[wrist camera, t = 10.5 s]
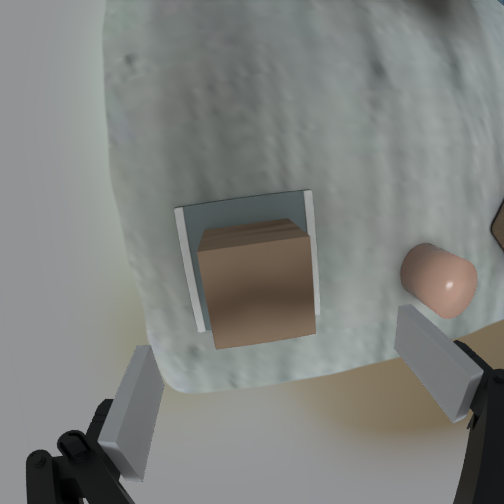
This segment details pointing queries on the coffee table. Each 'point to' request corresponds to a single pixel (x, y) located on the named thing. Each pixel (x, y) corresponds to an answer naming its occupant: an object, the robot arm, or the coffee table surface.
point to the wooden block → (499, 227)
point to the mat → (239, 213)
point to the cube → (257, 282)
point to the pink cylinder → (439, 279)
